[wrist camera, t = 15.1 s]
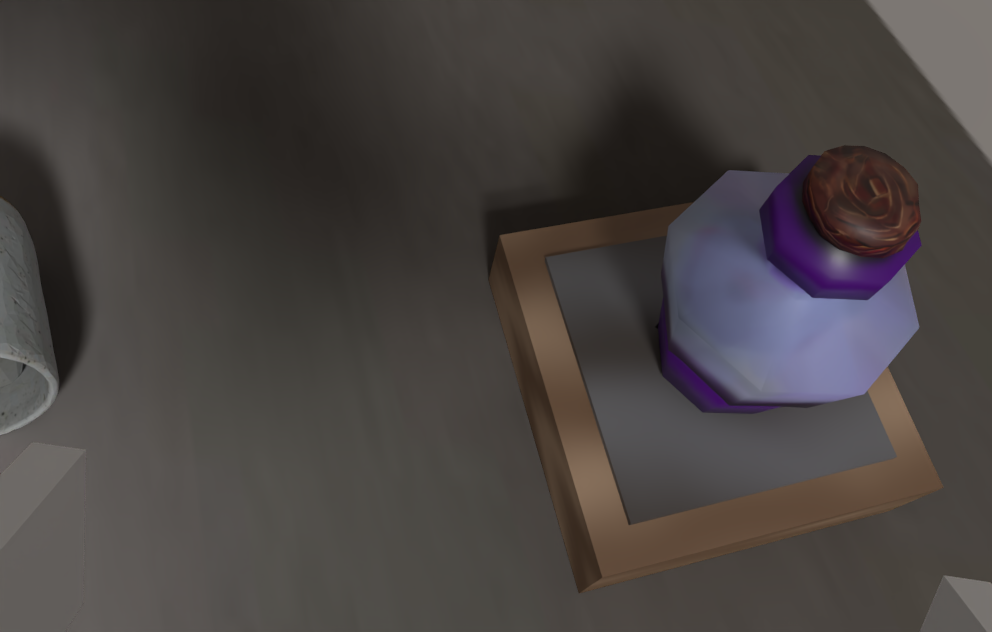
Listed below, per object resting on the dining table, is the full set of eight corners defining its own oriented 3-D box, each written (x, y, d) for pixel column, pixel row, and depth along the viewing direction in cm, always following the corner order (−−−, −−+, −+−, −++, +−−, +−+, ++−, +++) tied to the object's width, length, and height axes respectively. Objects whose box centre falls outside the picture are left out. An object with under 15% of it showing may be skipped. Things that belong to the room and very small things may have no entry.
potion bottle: (866, 417, 35) (1087, 275, 24) (675, 498, 32) (825, 381, 22) (756, 234, 38) (909, 35, 27) (575, 297, 35) (663, 106, 25)
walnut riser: (488, 279, 40) (500, 231, 36) (767, 229, 43) (805, 179, 39) (579, 593, 35) (604, 576, 31) (889, 510, 38) (947, 485, 34)
